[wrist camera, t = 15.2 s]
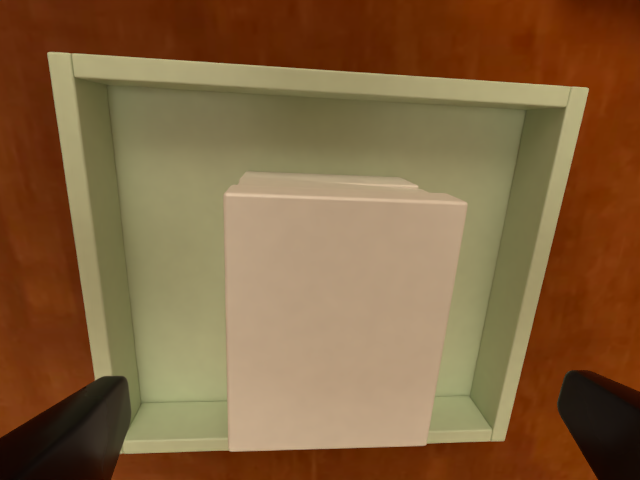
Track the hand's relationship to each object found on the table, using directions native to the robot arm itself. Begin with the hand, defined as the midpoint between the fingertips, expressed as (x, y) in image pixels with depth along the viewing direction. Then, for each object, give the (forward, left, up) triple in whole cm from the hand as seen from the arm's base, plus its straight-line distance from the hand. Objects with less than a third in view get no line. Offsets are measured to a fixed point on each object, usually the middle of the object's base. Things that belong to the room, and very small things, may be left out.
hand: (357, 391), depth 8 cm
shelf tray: (0, 0, -8) cm, 8 cm away
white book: (0, 0, -3) cm, 3 cm away
